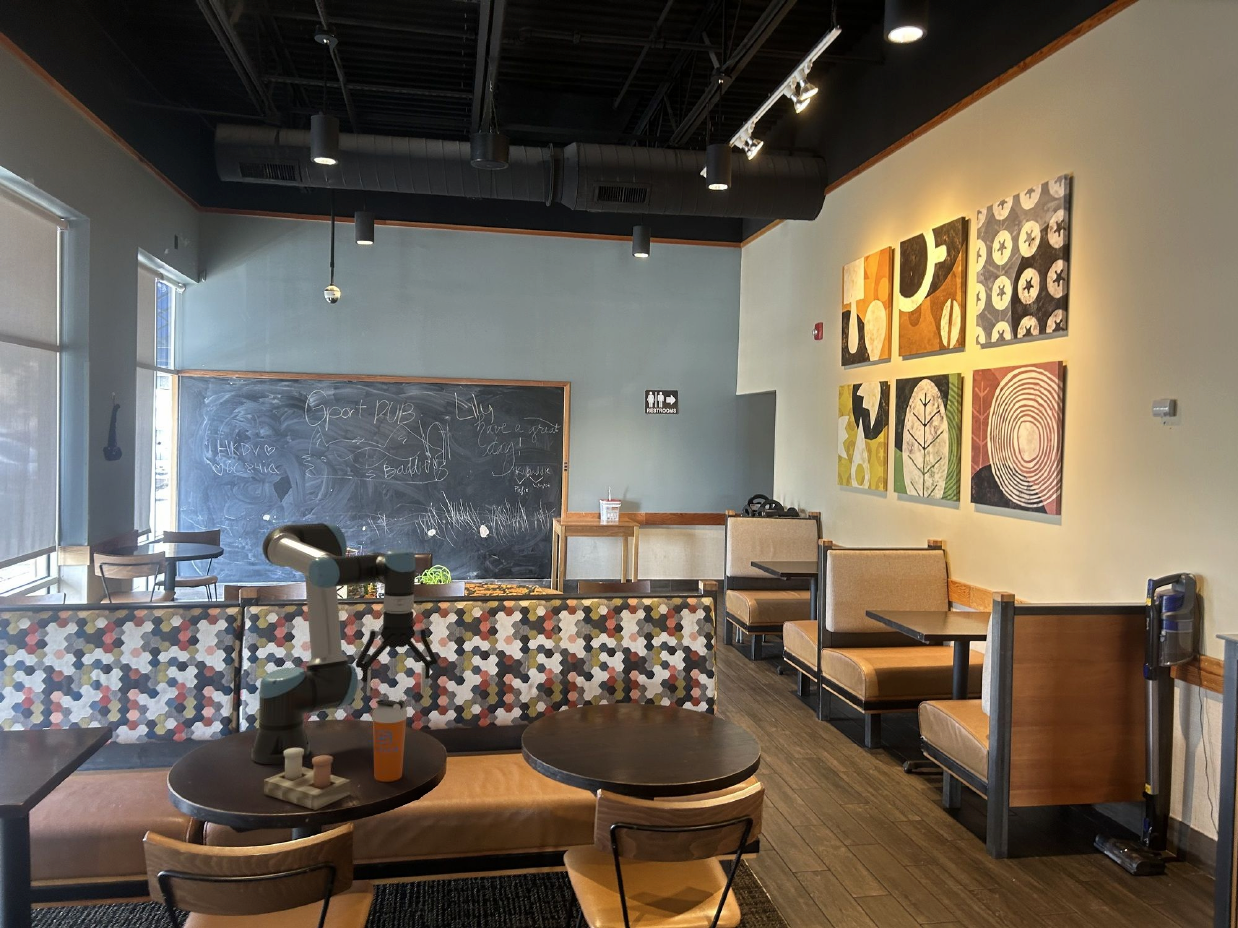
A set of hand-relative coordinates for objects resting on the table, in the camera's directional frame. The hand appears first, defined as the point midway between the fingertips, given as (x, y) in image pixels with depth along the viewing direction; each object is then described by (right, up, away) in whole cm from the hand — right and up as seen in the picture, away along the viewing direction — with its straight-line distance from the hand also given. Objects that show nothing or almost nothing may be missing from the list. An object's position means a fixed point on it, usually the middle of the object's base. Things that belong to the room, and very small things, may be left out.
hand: (395, 692), depth 218 cm
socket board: (-20, -23, -7) cm, 32 cm away
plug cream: (-25, -20, -5) cm, 32 cm away
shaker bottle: (-4, -24, +6) cm, 25 cm away
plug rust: (-16, -21, -9) cm, 28 cm away
